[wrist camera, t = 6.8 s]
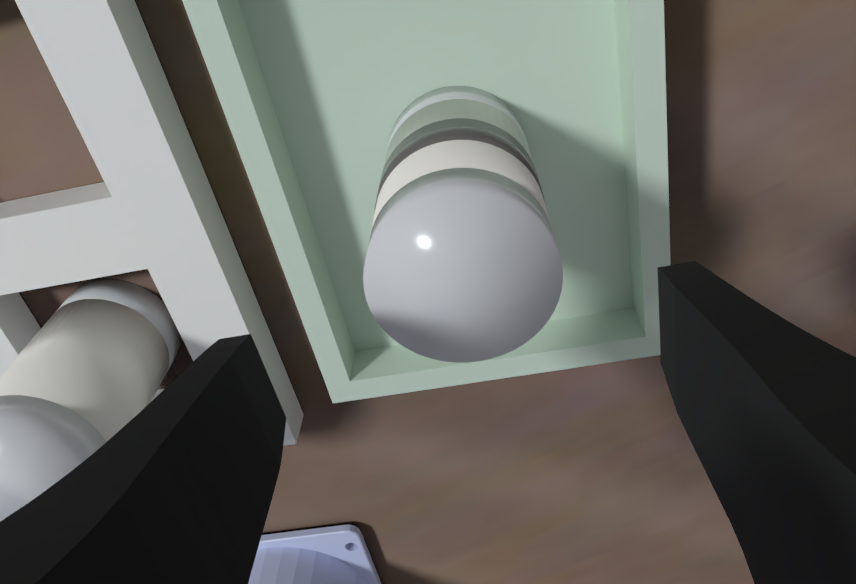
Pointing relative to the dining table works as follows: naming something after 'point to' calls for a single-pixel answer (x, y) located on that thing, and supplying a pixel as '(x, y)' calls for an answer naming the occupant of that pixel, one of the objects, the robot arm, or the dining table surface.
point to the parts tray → (369, 135)
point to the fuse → (80, 384)
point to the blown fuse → (461, 232)
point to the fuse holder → (128, 195)
